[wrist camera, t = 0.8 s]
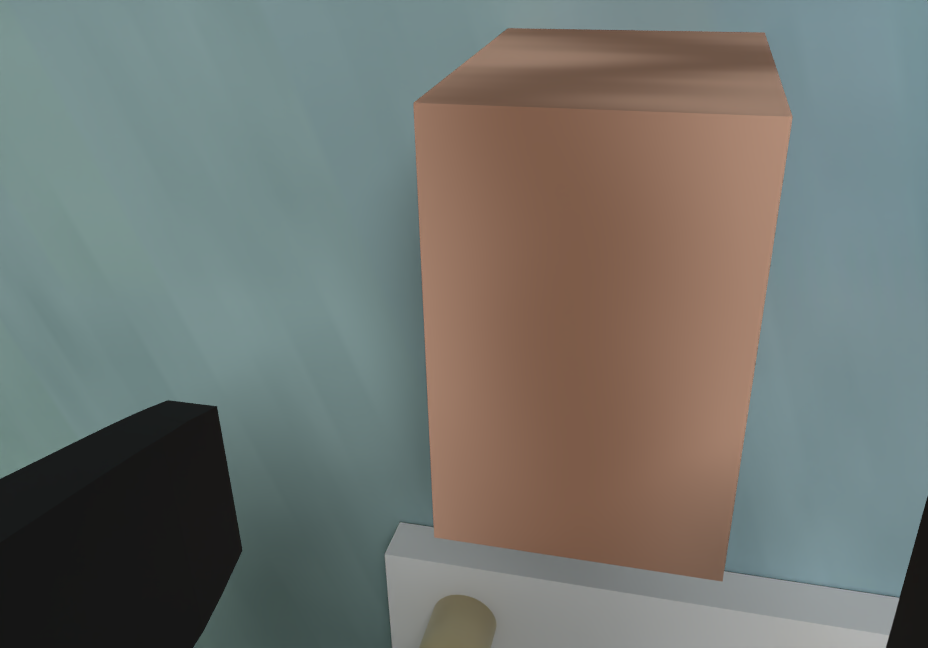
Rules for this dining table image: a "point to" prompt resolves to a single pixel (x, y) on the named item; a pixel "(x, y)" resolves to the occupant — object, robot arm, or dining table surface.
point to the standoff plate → (607, 603)
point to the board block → (597, 288)
